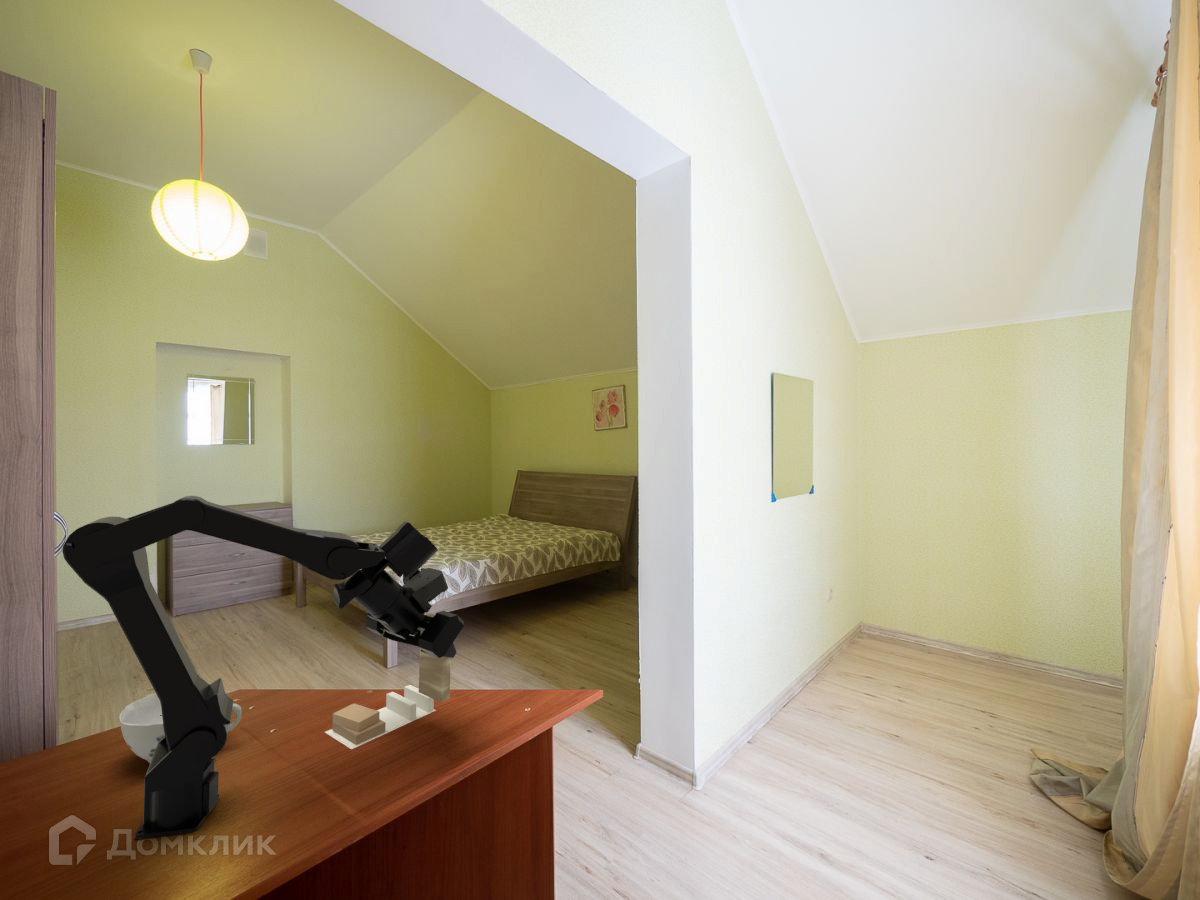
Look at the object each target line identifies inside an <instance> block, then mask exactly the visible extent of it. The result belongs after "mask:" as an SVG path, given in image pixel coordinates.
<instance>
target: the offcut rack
mask: <svg viewBox="0 0 1200 900" xmlns="http://www.w3.org/2000/svg"><path fill="white" fill-rule="evenodd" d="M403 688H404V689H403V690H404V691H403V695H404V696H403V695H400V694H399V693H396V692H394V691H391V692H388V693H386V697H385V698H386V699H385V704H386V705H385V706H384V707H382V708H380V709H377V710H376V709H373V708H369V707H367V706H363V705H360V704H357V703H355V702H354V703H352V704H350V705H349V704H348V706H346V707H345V706H344V708H341V709H340V710H337V711H335V712H333V713H332V728H331V729H329V730H326V731H324V733H325V734H326V735H328V736H330V737H331V738H333V739H334V740H336V741H338V742H339V743H341V744H342V745H344V746H345V747H347V748H348V749H350V750H353V749H356V748H358V747H360V746H361V745H362V746H363V745H364V744H366V743H369V742H370V741H373V740H375V739H377V738H379V737H382V736H384V735H386V734H389V733H390V732H392V731H394V730H397V729H399V728H401V727H403V726H405V725H407V724H409V723H412V722H415V721H416V720H418V719H421V718H424V717H425V716H427V715H429V714H432V713H433V712H436V711H437V709H435V708H434V705H435V701H434V699H432V698H430V697H428V696H426V695H424V694H421V693H419V687H416V686H414V685H412V684H408V685H406V686H404V687H403Z"/></svg>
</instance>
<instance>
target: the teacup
mask: <svg viewBox="0 0 1200 900" xmlns="http://www.w3.org/2000/svg"><path fill="white" fill-rule="evenodd" d="M242 710H243V709H242V707H241V706H240V705H239V704H237V703H233V708H232V713H234V714H235V716H236V717H235V719H234V720H233V721H232V722H230V724H229V728H228V732H230V731H231V730H233V729H234V728H235V727H237V725H238V724H239V722H240V721H241V719H242ZM160 715H162V709H161V703H160V700H159V698H158V696H157V694H156V692H155V693H151V694H147V695H145V696H144V697H143V698H138V699H137V700H135V701H132V702H131V703H130V704H127V705H126V706H125V708H124V709H123V710H122V711H121V713H120V714H119V717H118V719H119V724H120V730H121V734H122V737H123V739H124V741H125V744H126V745H127V746H128V748H129V749H130V750H131V751H132V753H134V754H135V756H137V757H139V758H141V759H143V760H145V761H147V762H148V764H150V763H151V760H152V757H153V755H154V752H155V750H156V747H157V744H158V742H159V741H160V740H161V739H163V738H164V737H165V733H164V727H163V718H162V716H160Z"/></svg>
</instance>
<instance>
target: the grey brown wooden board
mask: <svg viewBox="0 0 1200 900" xmlns="http://www.w3.org/2000/svg"><path fill="white" fill-rule="evenodd" d="M435 614H436V613H432V612H427V613H426V612H425V613H424V615H427V616H430V617H434V616H435ZM422 633H423V632H422V631H421V633H420V636H421V634H422ZM451 661H452V658H449V657H441V658H437V657H435V656H432V655H429V654H426V653H424V652H421V649H420V648H419V668H418V689H419V693H421V694H424V695H426V696H428V697H430V698H432V699H434V700H435V701H437V702H439V703H444V702H446V701H448V700H450V698H451V696H450V695H451V690H450V689H451V665H452V664H451Z"/></svg>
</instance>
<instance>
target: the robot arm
mask: <svg viewBox="0 0 1200 900" xmlns="http://www.w3.org/2000/svg"><path fill="white" fill-rule="evenodd" d="M185 531H192V532H194V533H199V534H202V535H207V536H210V537H213V538H217V539H221V540H225V541H228V542H232V543H235V544H238V545H243V546H246V547H250V548H254V549H257V550H261V551H264V552H268V553H272V554H274V555H279V556H283V557H285V558H287V559H290V560H292V561H294V562H296V563H298V564H299V565H300V566H303V567H305V568H306V569H308V570H310V571H313V572H314V573H317V574H319V575H321V576H323V577H325V578H327V579H330V580H333V581H341V580H345V581H343V582H339V583H334V585H333V593H332V595H331V599H332V600H333V602H334V603H335V605H336V606H337V608H339V609H340V610H341V609H344V608H345V607H346V606H347V605H348V604H349V603H350V602H351V601H355V602H356V603H357V604H358V605H359V606H360V607H361V608H363V609H364V610H365V611H366V612H367V614H366V617H365V624H364V627H366V629H368V630H369V631H370V632H371V633H374V634H376V635H379V636H383V638H386V639H387V640H390V641H393V642H397V643H402V644H406V645H410V646H414V647H418V648H419V650H420V649H421V652H424V653H426V654H429V655H432V656H435V657H437V658H441V657H449V658H451V659H453V658H454V657H455V656H456V655H457V650H456V647H455V644H454V642H455V641H456V639H457V637H458V636H459V634H460V633H461V631H462V630H463V629H464V627H465V621H464V620H463V619H462V618H461V617H460V616H459V615H458V614H455V613H452V612H448V611H445V610H441V611H437V612H436V613H434V614H435V616H434V617H430V616H427V615H424V614H425V613H429V611H430V610H431V608H432V607H433V605H432V604H430V602H432V601H433V600H435V598H437V597H438V596H439V595H441V594H442V593H445V592H446V591H447V590H448V589H449V586H448V583H447V581H446V578H445V575H444V573H443V570H440V569H435V568H431V567H425V568H424V567H423V566H424V565H425V564H426V563H427V562H428V561H429V560H430V559H431V558H432V557H433V556H435V554H436V553H437V552H439V549H438V548H437V547H436V545H435V544H434V543H433V542H432V541H431V540H430V539H429V538H428V537H427V536H426V535H424V534H423V533H421V532H420V531H419V530H418V529H416V528H415V527H414V525H412V524H411V522H409V521H407V520H405V521H403V522H402V523H401V524H400V525H398V527H397V528H396V529H395V531H393V533H392V534H391V535H390V536H388V537H387V538H386V539H385V540H384V541H382V543H380V544H377V543H372V542H365V541H364V542H363V541H356V540H355V539H353V537H352V536H350V535H348V534H346V533H342V532H334V531H326V530H320V529H319V530H318V529H317V530H316V529H307V528H298V527H293V526H290V525H286V524H284V523H280V522H277V521H274V520H270V519H267V518H264V517H260V516H257V515H254V514H251V513H248V512H243V511H240V510H238V509H234V508H231V507H227V506H224V505H220V504H217V503H214V502H211V501H208V500H206V499H205V498H203V497H201V496H197V495H186V496H183V497H181V498H179V499H177V500H175V501H174V502H171V503H168V504H165V505H163V506H159V507H156V508H153V509H150V510H147V511H144V512H140V513H139V514H136V515H132V516H131V517H127V518H125V517H122V516H107V517H102V518H98V519H96V520H94V521H91V522H90V523H87V524H85V525H82V526H80V527H78V528H76V529H75V530H74V531H72V533H70V534H69V535H68V536H67V538H66V540H65V541H64V544H63V545H62V555H63V559H64V561H65V562H66V563H67V565H68V566H69V567H70V568H71V569H72V570H73V572H74V573H75V574H76V575H77V576H78V578H79V579H81V580H82V582H83V583H84V584H85V585H87V586H88V587H89V588H90V589H91V590H93V591H94V592H96V593H97V594H98V595H100V596H101V597H102V598H103V599H104V600H105V601H106V602H107V603H108V605H109V607H110V609H111V611H112V613H113V615H114V616H115V618H116V621H117V622H118V625H119V626H120V628H121V630H122V632H123V633H124V635H125V637H126V639H127V641H128V643H129V645H130V647H131V648H132V651H133V652H134V654H135V656H136V658H137V660H138V661H139V663H140V666H141V667H142V669H143V671H144V673H145V675H146V677H147V679H148V681H149V683H150V684H151V687H152V688H153V691H154V692H155V693H156V694H157V696H158V698H159V700H160V703H161V709H162V718H163V727H164V733H165V737H164V738H163V739H161V740H160V741H159V742H158V744H157V747H156V750H155V752H154V755H153V757H152V760H151V763H149V766H148V769H147V771H146V774H145V776H144V780H143V782H144V784H143V785H144V787H143V812H142V813H143V814H142V815H143V817H142V824H141V826H139V828H138V829H137V830H136V831H135V832H134V839H138V840H139V839H143V838H144V839H146V838H153V837H154V838H155V837H160V836H167V835H169V836H170V835H176V834H185V833H191V832H192V833H193V832H195V831H197V830H198V829H199V827H200V826H201V825H202V824H203V822H204V821H205V819H206V818H207V816H208V815H209V814H210V813H212V811H213V809H214V808H215V806H216V805H217V803H218V802H219V800H220V794H219V779H220V776H219V772H218V771H217V770H215V761H216V759H215V756H217V755H218V754H219V753H220V752H221V750H223V748H224V746H225V744H226V742H227V740H228V732H229V731H228V728H229V725H230V724H231V721H232V715H233V711H232V708H233V704H234V700H233V699H231V698H230V697H229V696H228V694H227V693H226V691H225V688H224V683H223V679H222V678H217V679H216V680H214V681H213V682H211V683H209V682H207V681H206V680H204V678H202V677H201V676H200V675H199V674H198V672H197V671H196V668H195V667H194V664H193V663H192V661H191V659H190V656H189V655H188V652H187V651H186V649H185V647H184V645H183V643H182V641H181V638H180V637H179V635H178V633H177V631H176V629H175V627H174V625H173V623H172V621H171V619H170V617H169V615H168V614H167V611H166V609H165V607H164V606H163V603H162V601H161V599H160V598H159V596H158V593H157V591H156V589H155V588H154V586H153V584H152V581H151V578H150V577H151V576H150V568H149V562H148V561H149V560H148V553H147V549H146V548H147V547H149V546H151V545H154V544H155V543H158V542H160V541H163V540H165V539H168V538H170V537H172V536H175V535H177V534H180V533H183V532H185ZM387 567H388V568H389V569H390V570H391V571H392V572H393V573H394V574H395V575H396V576H398V577H399V578H402V583H403V584H402V585H401V583H399V582H398V581H397V580H396V579H395V578H394V577H393V576H392V575H391V574H390V573H388V572H387V570H385V569H386V568H387ZM421 631H422V632H423V633H422V634H421V636H420V633H421Z"/></svg>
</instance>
